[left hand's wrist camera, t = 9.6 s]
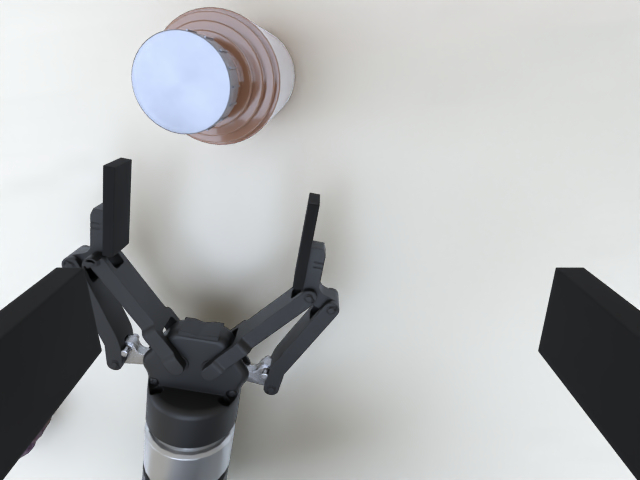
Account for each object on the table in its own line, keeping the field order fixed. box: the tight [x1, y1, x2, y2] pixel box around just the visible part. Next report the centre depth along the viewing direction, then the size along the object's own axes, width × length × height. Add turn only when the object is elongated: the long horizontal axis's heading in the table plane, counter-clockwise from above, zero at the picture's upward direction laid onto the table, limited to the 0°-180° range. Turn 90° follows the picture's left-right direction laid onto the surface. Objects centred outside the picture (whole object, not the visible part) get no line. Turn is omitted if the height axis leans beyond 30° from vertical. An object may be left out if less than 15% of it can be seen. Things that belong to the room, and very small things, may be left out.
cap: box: [131, 29, 240, 134], centre depth 18 cm, size 4×4×2 cm
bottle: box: [164, 7, 295, 145], centre depth 26 cm, size 7×7×18 cm
